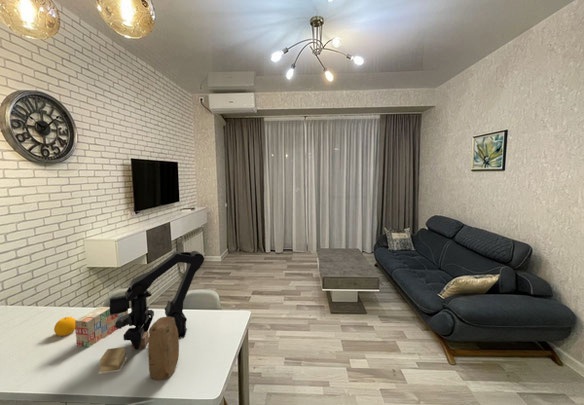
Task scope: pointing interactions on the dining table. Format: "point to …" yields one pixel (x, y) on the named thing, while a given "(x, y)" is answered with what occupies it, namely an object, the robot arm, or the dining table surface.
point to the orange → (65, 326)
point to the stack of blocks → (95, 326)
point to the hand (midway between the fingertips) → (140, 342)
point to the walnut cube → (143, 341)
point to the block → (163, 348)
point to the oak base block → (112, 359)
